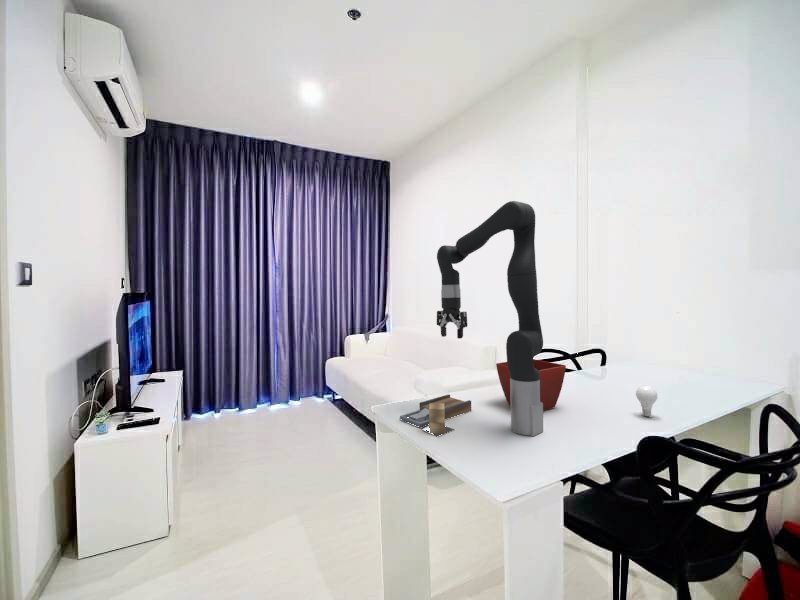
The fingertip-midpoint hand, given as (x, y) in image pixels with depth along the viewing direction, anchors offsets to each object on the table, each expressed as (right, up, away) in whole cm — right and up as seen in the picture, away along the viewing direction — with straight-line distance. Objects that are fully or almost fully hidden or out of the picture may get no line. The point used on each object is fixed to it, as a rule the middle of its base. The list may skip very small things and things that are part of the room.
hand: (451, 337), depth 144 cm
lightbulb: (+67, -27, -15) cm, 74 cm away
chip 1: (-15, -27, -13) cm, 33 cm away
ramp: (-3, -28, -4) cm, 29 cm away
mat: (-8, -29, -22) cm, 37 cm away
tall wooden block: (-8, -29, -22) cm, 37 cm away
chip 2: (-11, -28, -11) cm, 32 cm away
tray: (-13, -29, -13) cm, 34 cm away
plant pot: (+31, -28, 0) cm, 42 cm away
